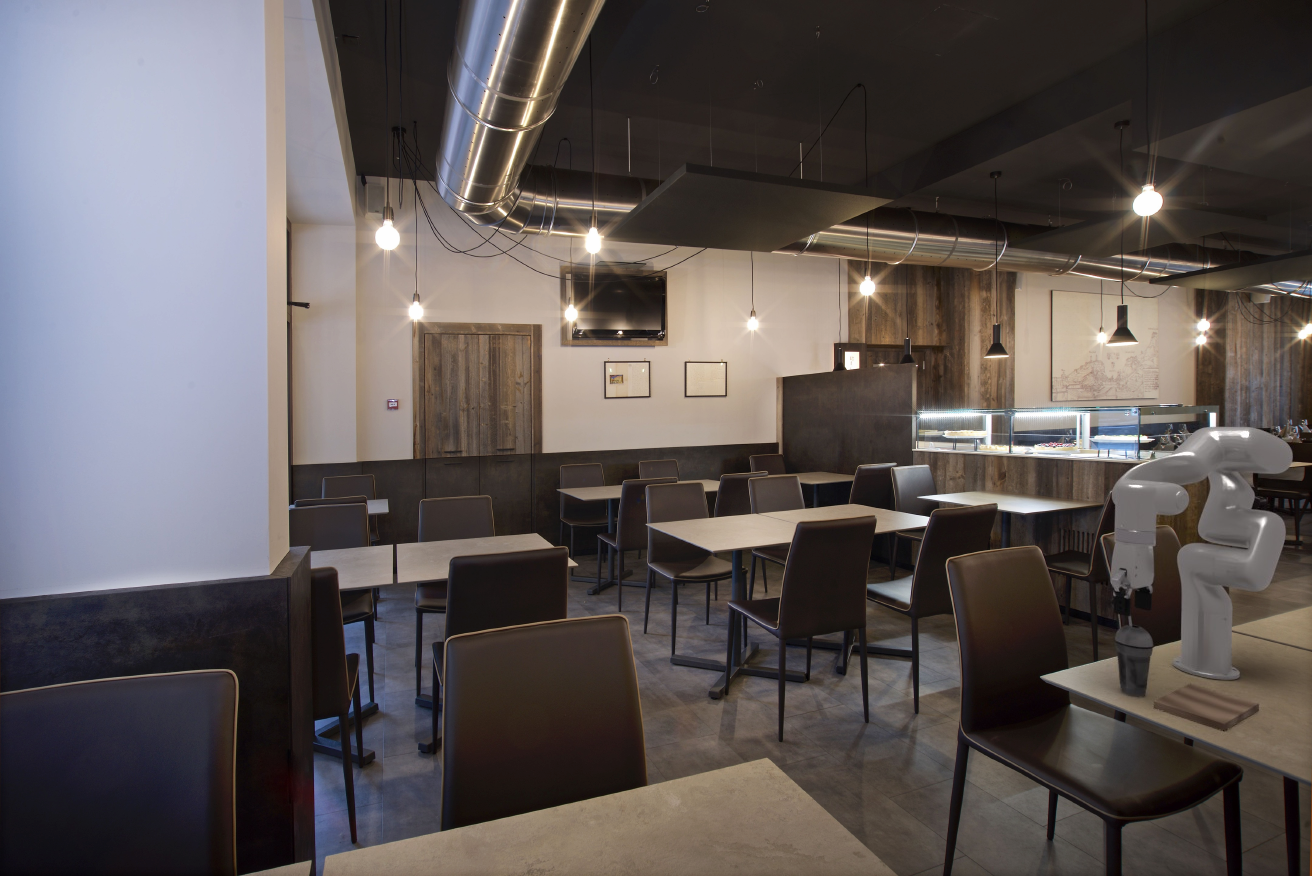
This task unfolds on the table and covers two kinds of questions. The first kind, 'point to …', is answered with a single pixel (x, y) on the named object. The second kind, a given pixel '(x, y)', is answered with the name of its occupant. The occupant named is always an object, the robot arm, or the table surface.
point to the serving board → (1207, 706)
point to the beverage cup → (1133, 658)
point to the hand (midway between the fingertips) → (1132, 611)
